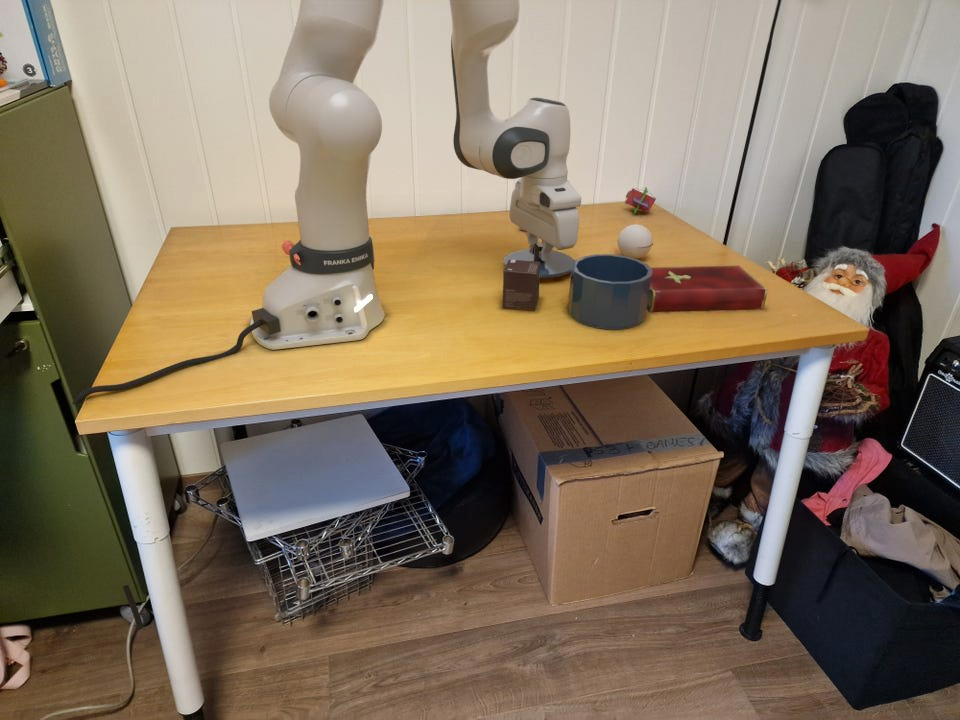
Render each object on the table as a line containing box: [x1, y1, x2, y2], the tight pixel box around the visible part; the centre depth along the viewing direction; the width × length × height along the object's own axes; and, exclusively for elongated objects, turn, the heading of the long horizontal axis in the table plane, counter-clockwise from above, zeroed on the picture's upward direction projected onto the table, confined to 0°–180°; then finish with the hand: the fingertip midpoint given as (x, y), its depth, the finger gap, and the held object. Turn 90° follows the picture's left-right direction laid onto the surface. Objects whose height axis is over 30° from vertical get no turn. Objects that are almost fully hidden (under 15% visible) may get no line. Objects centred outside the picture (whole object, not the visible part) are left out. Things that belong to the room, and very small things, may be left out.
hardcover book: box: [647, 264, 768, 313], centre depth 121 cm, size 12×21×4 cm, turn 95°
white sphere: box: [616, 223, 656, 260], centre depth 139 cm, size 10×7×7 cm
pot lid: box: [502, 242, 576, 279], centre depth 131 cm, size 15×15×5 cm
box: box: [502, 260, 541, 312], centre depth 117 cm, size 6×6×7 cm
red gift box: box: [624, 187, 657, 216], centre depth 167 cm, size 7×7×8 cm
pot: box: [567, 253, 653, 331], centre depth 114 cm, size 14×14×8 cm
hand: (539, 256), depth 131 cm, fingers closed on pot lid, 2 cm apart
